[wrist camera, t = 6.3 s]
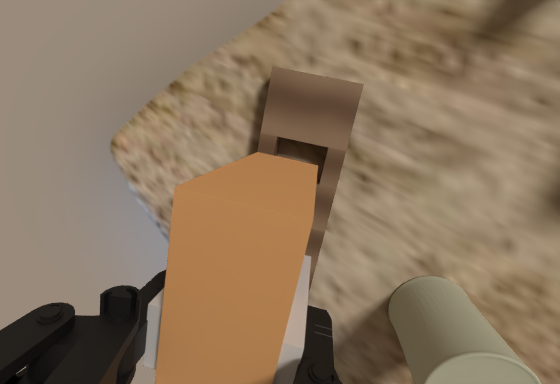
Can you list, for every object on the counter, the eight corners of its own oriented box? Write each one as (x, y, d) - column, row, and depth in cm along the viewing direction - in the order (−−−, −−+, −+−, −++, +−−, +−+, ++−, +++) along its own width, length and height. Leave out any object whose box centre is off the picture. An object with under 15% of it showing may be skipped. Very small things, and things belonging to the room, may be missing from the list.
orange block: (281, 316, 21) (243, 501, 10) (230, 302, 21) (145, 466, 11) (318, 165, 18) (313, 220, 7) (257, 151, 18) (175, 186, 8)
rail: (304, 299, 35) (303, 312, 33) (237, 281, 36) (231, 292, 34) (360, 87, 29) (363, 84, 26) (276, 71, 29) (272, 66, 27)
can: (372, 315, 34) (397, 410, 23) (421, 260, 32) (478, 337, 20) (434, 355, 34) (490, 471, 23) (488, 304, 32) (582, 405, 20)
